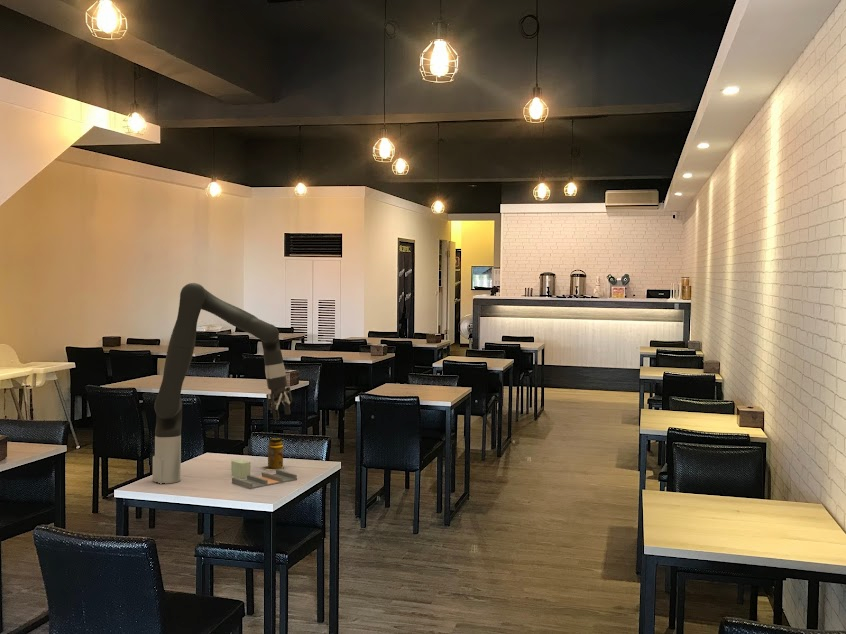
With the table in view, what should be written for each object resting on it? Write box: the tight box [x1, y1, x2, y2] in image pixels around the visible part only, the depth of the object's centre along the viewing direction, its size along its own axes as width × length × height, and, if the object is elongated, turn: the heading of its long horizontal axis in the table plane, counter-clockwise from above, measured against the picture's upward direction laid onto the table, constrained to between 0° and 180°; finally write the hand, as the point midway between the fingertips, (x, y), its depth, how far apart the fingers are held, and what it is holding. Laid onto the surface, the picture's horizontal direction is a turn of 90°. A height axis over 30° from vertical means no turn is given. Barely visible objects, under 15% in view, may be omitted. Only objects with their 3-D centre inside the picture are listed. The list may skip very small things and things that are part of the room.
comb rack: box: [231, 469, 297, 490], centre depth 290 cm, size 21×12×2 cm, turn 136°
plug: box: [230, 458, 251, 480], centre depth 297 cm, size 4×7×6 cm, turn 46°
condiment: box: [259, 437, 284, 471], centre depth 313 cm, size 7×8×12 cm
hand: (282, 416), depth 297 cm, fingers open, 8 cm apart
